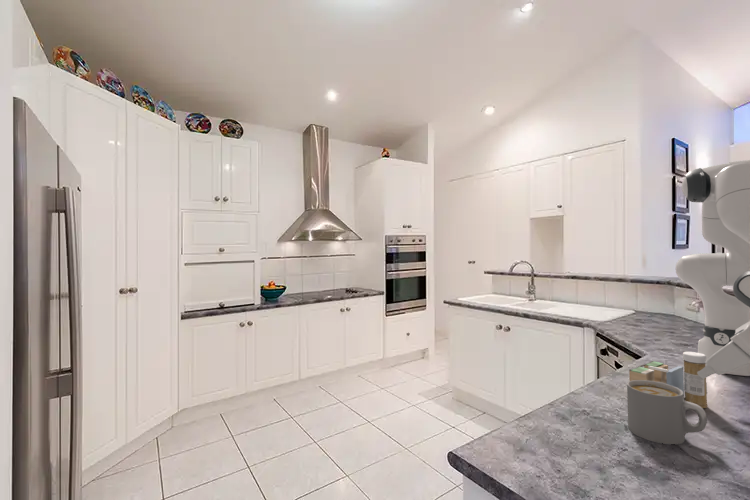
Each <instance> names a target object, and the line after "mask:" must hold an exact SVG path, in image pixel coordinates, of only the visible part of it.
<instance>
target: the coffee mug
mask: <svg viewBox="0 0 750 500" xmlns="http://www.w3.org/2000/svg"><path fill="white" fill-rule="evenodd" d="M626 394H627V395H626V396H627V397H626V398H627V402H626V403H627V429H628V430H629V431H630V432H631V433H633V434H634V435H636V436H637V437H640V438H641V439H643V440H647V441H650V442H653V443H657V444H662V443H663V444H664V445H671V444H675V445H681V444H683V443H685V441H686V435H687V434H689V433H691V434H692V433H693V434H694V433H699V432H702V431H704V430H705V429H706V427H707V423H708V419H707V417H708V416H707V413H706V411H705V410H704V408H702V407H700V406H699V405H697V404H694V403H691V402H688V401H685V393H684V394H683V391H682V390H680V389H679V388H677V387H674V386H671V385H668V384H665V383H660V382H655V381H648V380H632V381H630V380H629V381H628V382H627V383H626ZM687 410H688V411H689V410H692V411H694V412H695V413H696V414H697V416H698V422H697V423H696V424H693V423H691V422H689V421H688V419H687V416H686V412H687Z"/></svg>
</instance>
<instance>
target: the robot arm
mask: <svg viewBox="0 0 750 500" xmlns="http://www.w3.org/2000/svg"><path fill="white" fill-rule="evenodd" d="M681 190H682V194H683V195H684V197H685V200H688V201H689V202H692V203H701V232H702V234H701V235H702V237H703V239H704V240H705V241H707V242H708V243H710V244H712V245H714V246H718V247H722V248H724V249H725V250H727V251H728V252H722V253H721V252H718V253H715V252H714V253H712V252H710V253H699V252H698V253H694V254H693V253H692V254H687V255H683V256H682V257H680V258H679V259H678V260H677V262H676V264H675V273H676V275H677V277H678V279H679V280H681V282H683V283H685V284H686V285H688V286H689V287H691V288H692V289H693V290H694V291H695V292H696V294H698V296H699V298H700V300H701V302H702V305H703V313H704V324H703V326H702V327H703V328H702V332H703V337H702V338H700V339H699V340H698V342H697V343H698V344H697V353H701V354H704V355H706V362H705V363H706V364H705V367H704V368H703V369H702V370H700V371H698V372H697V374H698V375H699V376H700V377H701V378H703V379H704V378H706V379H707V378H709V377H710V376H712V375H714V374H716V375H719V376H720V375H725V374H727V375H734V376H745V377H750V159H749V160H748V159H746V160H738V161H730V162H727V163H721V164H717V165H712V166H707V167H702V168H701V167H699V168H696V169H693V170H689V171H688V172H687V173H686V174H685V175H684V178H683V180H682V183H681ZM726 286H727V287H732V291H733V295H731V294H729V293H727V292H725V291H724V289H723V287H726Z"/></svg>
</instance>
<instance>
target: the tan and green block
mask: <svg viewBox="0 0 750 500" xmlns="http://www.w3.org/2000/svg"><path fill="white" fill-rule="evenodd" d="M648 366H653V367H658V368H662V369H667V370H669V365H668V364H664V363H663V362H659V361H653V360H651V361H648V362H646V363H643V364H639V365H637V366H636V367H635V366H634V367H632V368H629V372H628V373H629V378H628V379H629V381H632V380H648V381H655V382H662V383H666V384H667V377H666V372H663V371H659V370H654V369H650V368H648Z"/></svg>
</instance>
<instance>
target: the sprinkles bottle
mask: <svg viewBox="0 0 750 500" xmlns="http://www.w3.org/2000/svg"><path fill="white" fill-rule="evenodd" d="M682 360H683V376H684V400H685V401H688V402H691V403H694V404H697V405H699V406H700V407H702V408H703V409H706V408H708V407H709V406H708V399H707V398H708V397H707V396H708V387H707V386H708V384H707V383H708V382H707V377H706V378H704V379H703V378H701V377H700V376H699V375H698V374H697V372H698V371H700V370H702V369H703V368H704V367H705V364H706V363H705V362H706V355H704V354H701V353H698V351H697V352H694V351H684V352H683V353H682Z"/></svg>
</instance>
